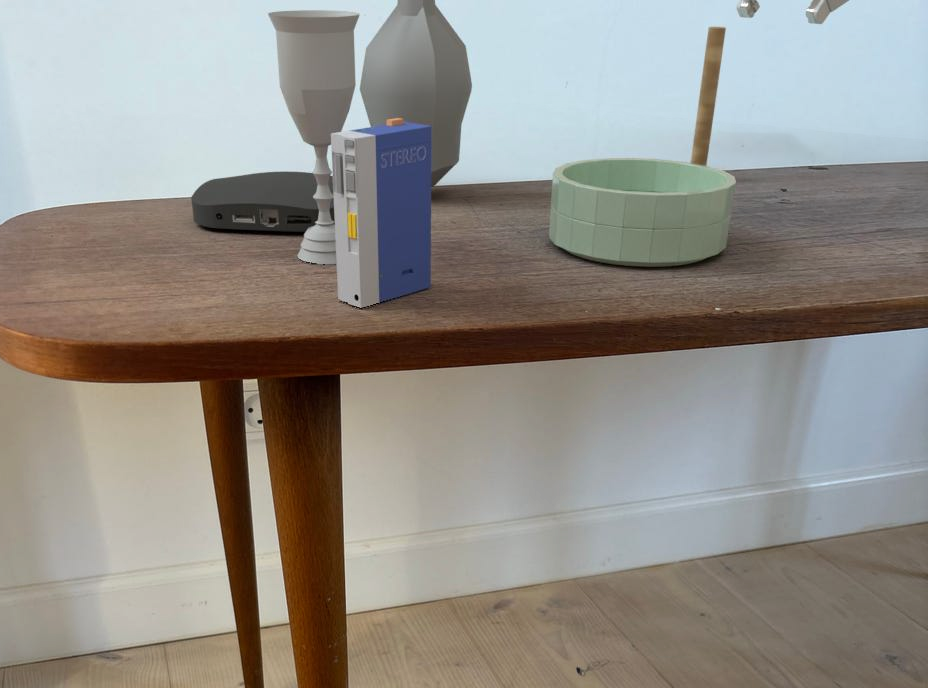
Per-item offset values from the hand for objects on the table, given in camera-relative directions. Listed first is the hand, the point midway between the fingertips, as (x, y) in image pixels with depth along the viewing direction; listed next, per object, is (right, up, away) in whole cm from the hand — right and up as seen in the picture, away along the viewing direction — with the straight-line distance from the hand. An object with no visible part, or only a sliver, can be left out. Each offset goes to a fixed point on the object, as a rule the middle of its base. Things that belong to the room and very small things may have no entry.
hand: (777, 16), depth 116 cm
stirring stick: (-8, -16, +4) cm, 18 cm away
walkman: (-41, -42, -34) cm, 68 cm away
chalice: (-47, -36, -25) cm, 64 cm away
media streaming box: (-53, -28, -13) cm, 61 cm away
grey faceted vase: (-39, -22, -5) cm, 45 cm away
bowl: (-19, -33, -21) cm, 44 cm away
